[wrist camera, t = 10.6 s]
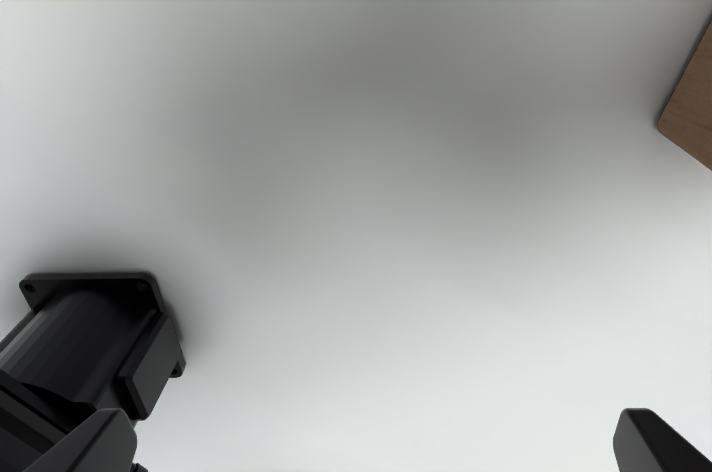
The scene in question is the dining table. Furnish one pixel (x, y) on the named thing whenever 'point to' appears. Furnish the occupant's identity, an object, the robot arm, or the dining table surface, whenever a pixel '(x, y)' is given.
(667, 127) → the wooden block
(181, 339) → the dining table surface
